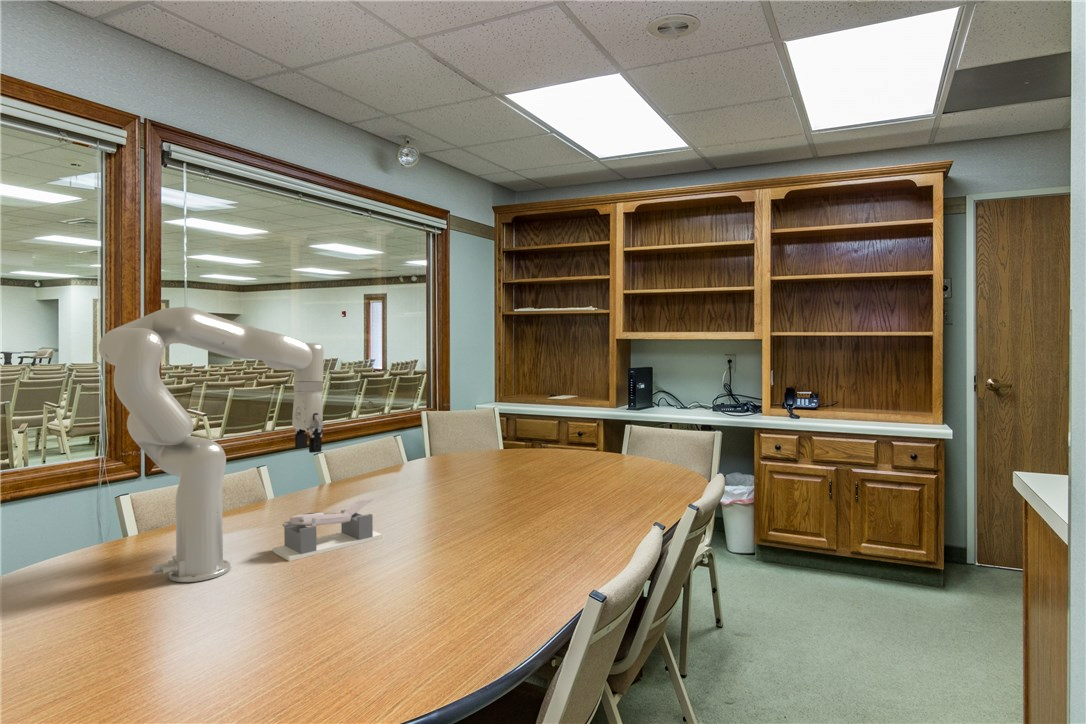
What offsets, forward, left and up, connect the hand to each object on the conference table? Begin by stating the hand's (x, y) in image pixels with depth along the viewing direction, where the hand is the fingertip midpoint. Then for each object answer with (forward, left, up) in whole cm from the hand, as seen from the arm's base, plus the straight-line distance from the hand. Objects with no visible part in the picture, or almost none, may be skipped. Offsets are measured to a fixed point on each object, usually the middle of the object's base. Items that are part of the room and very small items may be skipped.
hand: (308, 450), depth 167 cm
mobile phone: (+2, -8, -20) cm, 21 cm away
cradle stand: (+2, -8, -25) cm, 26 cm away
